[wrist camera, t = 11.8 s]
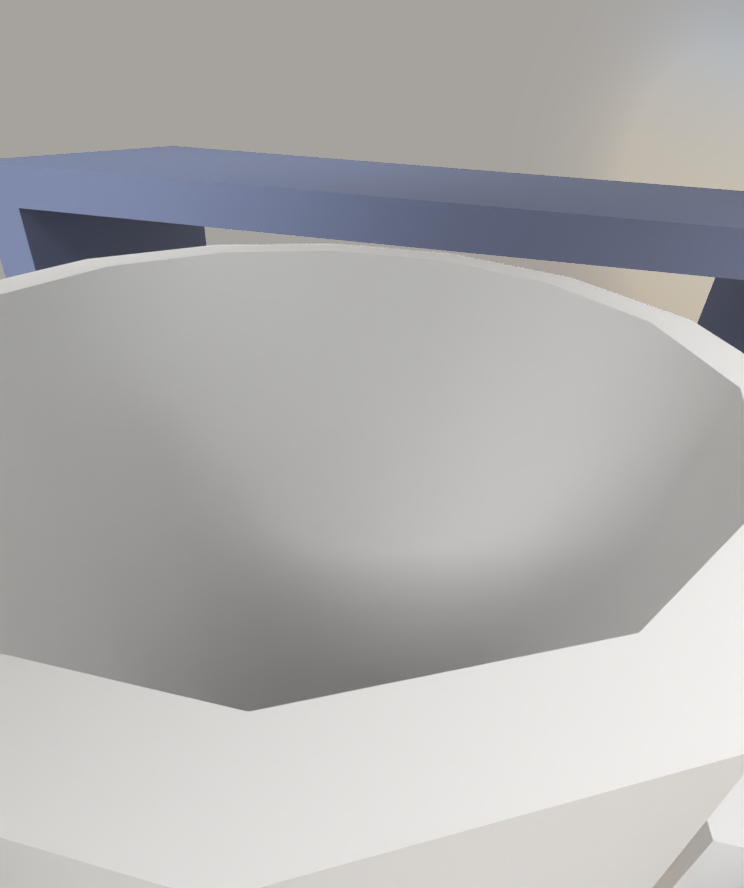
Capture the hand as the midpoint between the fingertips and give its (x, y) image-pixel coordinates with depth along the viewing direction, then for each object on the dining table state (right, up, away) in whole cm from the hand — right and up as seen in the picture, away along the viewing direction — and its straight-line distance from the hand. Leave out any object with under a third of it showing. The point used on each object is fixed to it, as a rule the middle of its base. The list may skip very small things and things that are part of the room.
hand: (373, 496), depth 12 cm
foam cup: (-1, -9, 0) cm, 9 cm away
